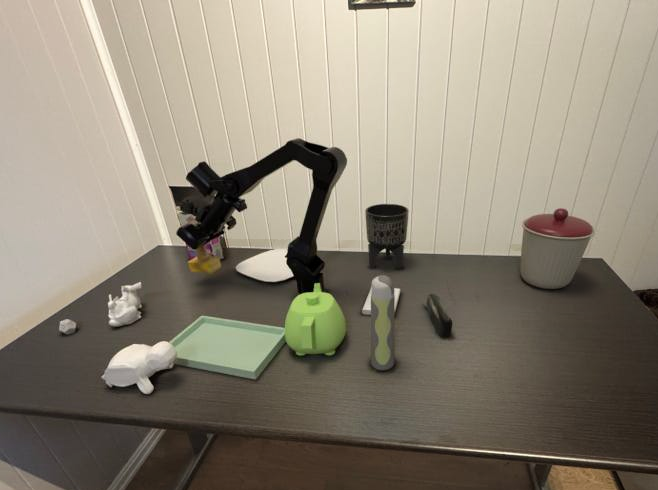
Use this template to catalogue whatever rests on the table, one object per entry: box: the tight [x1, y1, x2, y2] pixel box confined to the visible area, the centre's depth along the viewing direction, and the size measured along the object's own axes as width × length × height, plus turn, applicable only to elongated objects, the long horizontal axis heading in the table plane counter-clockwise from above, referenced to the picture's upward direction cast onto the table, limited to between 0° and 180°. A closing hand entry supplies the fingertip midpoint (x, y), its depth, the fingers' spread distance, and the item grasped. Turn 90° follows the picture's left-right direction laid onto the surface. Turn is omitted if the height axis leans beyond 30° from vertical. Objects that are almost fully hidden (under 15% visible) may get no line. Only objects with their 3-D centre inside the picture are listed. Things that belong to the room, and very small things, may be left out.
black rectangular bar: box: [424, 293, 453, 338], centre depth 90 cm, size 5×3×15 cm
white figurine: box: [107, 281, 143, 328], centre depth 93 cm, size 12×8×10 cm, turn 168°
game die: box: [58, 318, 77, 336], centre depth 90 cm, size 4×4×3 cm
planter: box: [364, 203, 410, 270], centre depth 116 cm, size 13×13×18 cm
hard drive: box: [361, 286, 401, 316], centre depth 99 cm, size 2×8×12 cm
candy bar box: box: [175, 210, 225, 261], centre depth 123 cm, size 11×5×16 cm, turn 68°
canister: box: [519, 207, 597, 290], centre depth 103 cm, size 18×18×21 cm
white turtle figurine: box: [100, 340, 178, 395], centre depth 73 cm, size 9×8×15 cm
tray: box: [168, 315, 287, 380], centre depth 83 cm, size 24×16×2 cm, turn 74°
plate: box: [235, 248, 295, 283], centre depth 119 cm, size 22×22×2 cm
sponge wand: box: [187, 221, 222, 275], centre depth 106 cm, size 7×5×14 cm
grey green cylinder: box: [370, 274, 395, 371], centre depth 73 cm, size 5×5×20 cm
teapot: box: [284, 283, 347, 356], centre depth 81 cm, size 20×13×13 cm
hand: (195, 246), depth 106 cm, fingers closed on sponge wand, 3 cm apart
